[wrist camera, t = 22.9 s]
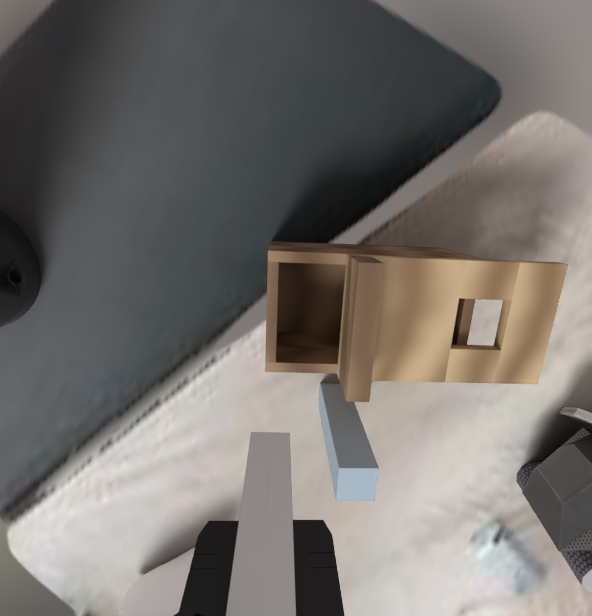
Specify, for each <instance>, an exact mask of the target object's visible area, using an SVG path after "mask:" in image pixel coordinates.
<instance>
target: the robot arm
mask: <svg viewBox="0 0 592 616" xmlns="http://www.w3.org/2000/svg"><path fill="white" fill-rule="evenodd" d="M38 288H39V267H38V262H37V259H36V256H35V253H34V251H33V249H32V247H31V245H30V243H29V241H28V240H27V238H26V237H25V235H24V234H23V233H22V231H21V230H20V229H19V228H18V227H17V226H16V225H15V224H14V223H13V222H12V221H11V220H10V219H9V218H7V217H6V216H5V215H3V214H2V213H0V327H2V326H4V325H7V324H9V323H11V322H13V321H15V320H17V319H19V318H20V317H21V316H23V315H24V314H25V313H26V312H27V311H28V310H29V308H30V307H31V305H32V304H33V302H34V300H35V298H36V295H37V292H38ZM174 616H344V610H343V604H342V597H341V591H340V584H339V578H338V571H337V565H336V558H335V552H334V545H333V538H332V534H331V532H330V531H329V529H328V527H327V526H326V524H325V522H324V521H323V520H293V514H292V485H291V456H290V433H270V432H251V437H250V444H249V452H248V459H247V466H246V473H245V480H244V488H243V495H242V502H241V509H240V517H239V521H208V523H207V524H206V526H205V527H204V528H203V530H202V531H201V533H200V534H199V535H198V539H197V542H196V546H195V550H194V555H193V558H192V562H191V566H190V571H189V574H188V578H187V581H186V585H185V589H184V593H183V597H182V601H181V605H180V609H179V612H178V613H177V614H175V615H174Z"/></svg>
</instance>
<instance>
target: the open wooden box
mask: <svg viewBox="0 0 592 616" xmlns="http://www.w3.org/2000/svg"><path fill="white" fill-rule="evenodd" d="M347 254H356V255H382V256H407V257H432V258H458V259H480V258H476V257H472V256H468V255H464V254H460V253H456V252H452V251H447V250H443V249H439V248H427V247H402V246H378V245H353V244H329V243H305V242H280V241H271V243H270V246H269V250H268V277H267V322H266V367H265V372H299V373H337V368H338V356H339V344H340V332H341V319H342V307H343V295H344V283H345V271H346V259H347ZM474 303H475V299H462V298H459V303H458V308H457V314H456V320H455V326H454V331H453V337H452V343H451V345H467V340H468V335H469V330H470V324H471V319H472V314H473V308H474Z"/></svg>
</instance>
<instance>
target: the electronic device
mask: <svg viewBox="0 0 592 616" xmlns="http://www.w3.org/2000/svg"><path fill="white" fill-rule="evenodd" d="M558 414H561V415H564V416H567V417H569V418H572V419H575V420H578V421H581V422H584V423H587V424H590V425H592V413H591V412H588V411H585V410H583V409H580V408H573V407H563V408H562V409H561V410H560V412H559V413H558ZM517 483H518V484H519V486H520V488H521V489H522V491H523V492H522V493H523V494H524V496H525V497H526V499H527V501H528V502H529V504H530V505H531V507H532V509H533V510H534V512H535V513H536V515H537V517H538V518H539V520H540V521H541V523H542V525H543V526H544V528H545V529H546V531H547V533H548V534H549V536H550V537H551V539H552V541H553V542H554V544H555V546H556V547H557V549H558V551H560V552H561V553H562V555H563V556H564V558H565V560H566V561H567V563H568V564H569V566H570V568H571V569H572V571H573V572H574V574H575V576H576V577H577V579H578V580H579V582H580V584H581V585H582V587H583V588H584V589H585V590H586V592H589V593H591V594H592V430H589V429H587V428H584V427H583V428H582V429H581V430H580V431H578V432H577V433H576V434H575V435H574V436H572V437H571V438H570V439H569V440H568V441H566V442H565V443H564V444H563V445H562V446H561V447H559V448H558V449H557V450H556V451H555V452H553V453H552V454H551V455H550V456H549V457H548V458H546V459H545V460H544V461H543V462H536V463H530V464H528V465H527V466H525V467H523V468H522V469H521V470H520V471H519V473H518V474H517Z"/></svg>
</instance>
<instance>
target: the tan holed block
mask: <svg viewBox="0 0 592 616" xmlns="http://www.w3.org/2000/svg"><path fill="white" fill-rule="evenodd" d="M567 266H568V264H563V263H558V262H534V261H508V260H483V259H458V258H432V257H407V256H382V255H356V254H347V259H346V271H345V283H344V295H343V307H342V319H341V332H340V344H339V356H338V368H337V376H338V379H339V382H340V385H341V388H342V391H343V394H344V397H345V400H346V402H369V398H370V389H371V381H416V382H462V383H508V384H538V381H539V377H540V373H541V369H542V365H543V362H544V358H545V354H546V350H547V346H548V342H549V338H550V334H551V330H552V326H553V322H554V318H555V314H556V310H557V306H558V302H559V298H560V294H561V290H562V286H563V282H564V278H565V274H566V270H567ZM459 298H462V299H492V300H503V304H502V309H501V314H500V319H499V323H498V328H497V333H496V338H495V343H494V346H486V345H451V343H452V337H453V331H454V326H455V320H456V314H457V308H458V303H459Z"/></svg>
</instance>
